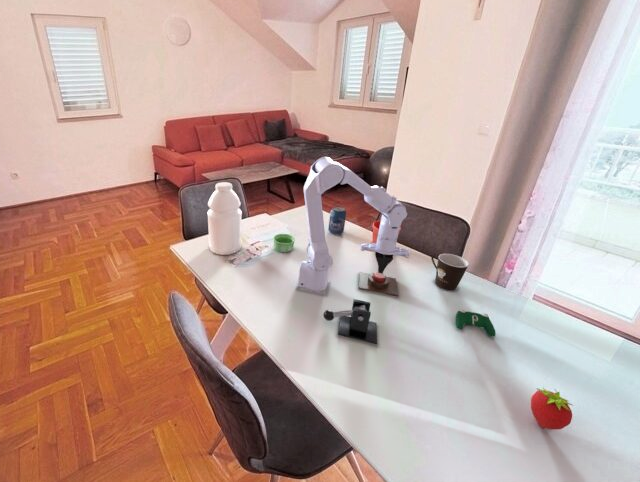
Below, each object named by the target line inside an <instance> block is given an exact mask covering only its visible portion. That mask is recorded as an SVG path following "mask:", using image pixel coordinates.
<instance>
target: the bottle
mask: <svg viewBox="0 0 640 482" xmlns="http://www.w3.org/2000/svg"><path fill="white" fill-rule="evenodd" d="M214 186H215V187H214V189H215V190H214V192H212V194H211V196H210V197H209V199H208V202H207V207H208V208H209V209H208V211H207V213H206V214H207V226H208V227H207V231H208V247H209V250H210V251H211V252H212V253H214V254H217V255H222V256H223V255H224V256H227V255H228V256H229V255H233V254H235V253H238V252H240V250H241V248H242V245H243V243H242V217H243V216H242V215H243V211H242V210H241V208H240V207H241V205H242V202H241V199H240V198H239V195H237V193H236V192H235V191H234V190H233V187H234V186H233V184H232V183H231V182H229V181H223V182H222V181H221V182H217V183H215V185H214ZM234 251H235V252H234ZM231 252H232V253H231Z"/></svg>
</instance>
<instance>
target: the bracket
mask: <svg viewBox="0 0 640 482" xmlns="http://www.w3.org/2000/svg"><path fill="white" fill-rule="evenodd" d="M360 305H365V307H366V309H367V311H365V310H360V309H356V308H355V306H360ZM370 309H371V301H365V300H360V299H356V298H353V301H352V307H351V310H353V312H352V315H350V316H341V317H339V323H338V330H337V331H338V333H337V336H341V337H345V338H349V339H353V340H357V341H362V342H365V343H370V344H374V345H378V327H377V326H378V325H377V322H376V321H370V320H371V314H372V313H371V312H372V311H370Z"/></svg>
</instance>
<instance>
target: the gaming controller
mask: <svg viewBox="0 0 640 482" xmlns="http://www.w3.org/2000/svg"><path fill="white" fill-rule="evenodd" d="M465 325H466V326H473V327H477V328H482V330H483V331H484V332H485V333H486V334H487V335H488V336H489V337H496V329H495V327H494V325H493V323H492V321H491V319H490V317H489V314H488V313H477V312H473V311H467V310H466V309H458V310H457V312H456V314H455V326H456V329H458V330H460V331H461V330H463V329H464V326H465Z"/></svg>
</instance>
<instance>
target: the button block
mask: <svg viewBox="0 0 640 482" xmlns="http://www.w3.org/2000/svg"><path fill="white" fill-rule="evenodd" d="M374 273H375V272H373V273H370V272H369V273H368V272H363V271H359V274H358V289H359V290H362V291H366V292H367V291H368V292H373V293H378V294H383V295H387V296H392V297H399V290H398V285H397V284H398V283H397V279H396V278H395V277H391V276H386V275H385V280H384V282H377V281H375V280H374V279H373V275H374Z"/></svg>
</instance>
